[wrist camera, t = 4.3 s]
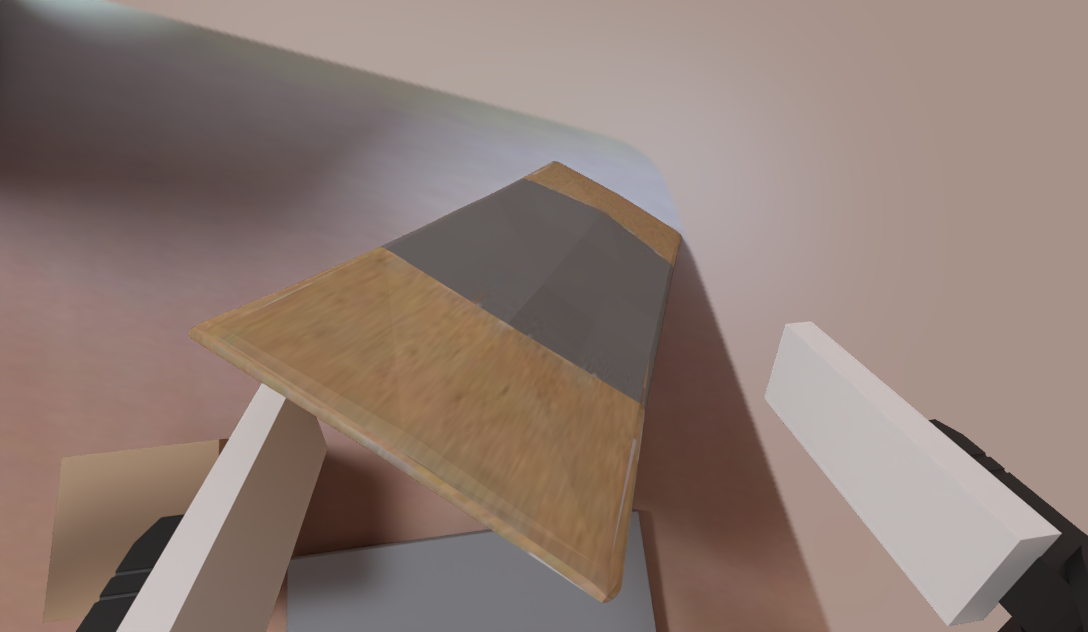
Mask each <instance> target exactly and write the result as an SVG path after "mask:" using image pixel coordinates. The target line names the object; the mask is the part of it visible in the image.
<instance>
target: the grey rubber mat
mask: <svg viewBox="0 0 1088 632" xmlns="http://www.w3.org/2000/svg"><path fill="white" fill-rule="evenodd" d="M287 632H656V627H655V620H654V614H653V607H652V600H651V594H650V587H649V581H648V574H647V567H646V561H645V554H644V547H643V541H642V534H641V527H640V521H639V514H638V511H637V510H635V509H632V513H631V520H630V528H629V535H628V543H627V550H626V558H625V565H624V573H623V580H622V587H621V590H620V591H619V593H618V595H617V596H616V597H615V598H614V599H613V600H611V601H609V602H607V603H601V602H600V601H598V600H597V599H595V598H594V597H592V596H591V595H589V594H588V593H586V592H585V591H583V590H582V589H580V588H579V587H577V586H576V585H574V584H573V583H571V582H570V581H568V580H567V579H565V578H564V577H562V576H561V575H559V574H558V573H556V572H555V571H553V570H552V569H550V568H549V567H547V566H546V565H544V564H543V563H541V562H540V561H538V560H537V559H535V558H534V557H532V556H531V555H529V554H528V553H526V552H525V551H523V550H522V549H520V548H518V547H517V546H515V545H514V544H512V543H511V542H509V541H508V540H506V539H505V538H503V537H502V536H500V535H499V534H497V533H496V532H494V531H493V530H491V529H489V530H482V531H475V532H468V533H461V534H453V535H446V536H439V537H432V538H425V539H418V540H411V541H403V542H396V543H389V544H382V545H375V546H368V547H361V548H353V549H346V550H339V551H332V552H325V553H318V554H311V555H304V556H296V557H293V558H291V559H290V562H289V565H288V569H287Z"/></svg>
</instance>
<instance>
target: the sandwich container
mask: <svg viewBox="0 0 1088 632" xmlns="http://www.w3.org/2000/svg"><path fill="white" fill-rule="evenodd" d="M680 241H681V235H680V233H678V232H677V231H676V230H674V229H673V228H671V227H669V226H668V225H666V224H665V223H663V222H661V221H660V220H658V219H657V218H655V217H653V216H652V215H650V214H649V213H647V212H646V211H644V210H642V209H641V208H639V207H638V206H636V205H634V204H633V203H631V202H630V201H628V200H626V199H625V198H623V197H622V196H620V195H618V194H617V193H615V192H613V191H611V190H609V189H607V188H605V187H604V186H602V185H600V184H598V183H596V182H594V181H593V180H591V179H589V178H587V177H585V176H583V175H581V174H580V173H578V172H576V171H574V170H572V169H570V168H568V167H567V166H565V165H563V164H561V163H559V162H556V161H553V162H551V163H550V164H548V165H546V166H544V167H542V168H540V169H539V170H537V171H535V172H533V173H531V174H529V175H528V176H526V177H524V178H522V179H520V180H518V181H516V182H514V183H512V184H510V185H508V186H506V187H504V188H502V189H500V190H498V191H497V192H495V193H493V194H491V195H489V196H487V197H484V198H482V199H480V200H478V201H476V202H473V203H471V204H469V205H467V206H464V207H462V208H460V209H458V210H456V211H454V212H452V213H450V214H448V215H446V216H444V217H442V218H440V219H438V220H436V221H434V222H432V223H430V224H428V225H426V226H424V227H422V228H420V229H417V230H415V231H413V232H411V233H409V234H407V235H404V236H402V237H400V238H398V239H396V240H394V241H392V242H389V243H387V244H385V245H383V246H381V247H379V248H376V249H374V250H372V251H369V252H367V253H365V254H362V255H360V256H358V257H356V258H353V259H351V260H349V261H347V262H344V263H342V264H340V265H337V266H335V267H333V268H331V269H328V270H326V271H324V272H322V273H319V274H317V275H315V276H312V277H310V278H308V279H306V280H303V281H301V282H299V283H297V284H294V285H292V286H290V287H287V288H285V289H283V290H280V291H278V292H275V293H273V294H271V295H268V296H266V297H263V298H261V299H258V300H256V301H253V302H251V303H249V304H246V305H244V306H241V307H239V308H236V309H234V310H231V311H229V312H226V313H224V314H222V315H219V316H217V317H214V318H212V319H209V320H207V321H204V322H202V323H200V324H198V325H196V326H194V327H192V328H191V330H190V332H189V334H188V336H189V337H190V338H191V339H193V340H194V341H196V342H198V343H199V344H201V345H202V346H204V347H206V348H207V349H209V350H210V351H212V352H214V353H215V354H217V355H218V356H220V357H222V358H223V359H225V360H226V361H228V362H229V363H231V364H233V365H234V366H236V367H237V368H239V369H241V370H242V371H244V372H245V373H247V374H249V375H250V376H252V377H253V378H255V379H257V380H258V381H260V382H261V383H263V384H265V385H266V386H268V387H269V388H271V389H273V390H274V391H276V392H277V393H279V394H281V395H282V396H284V397H285V398H287V399H289V400H290V401H292V402H293V403H295V404H297V405H298V406H300V407H301V408H303V409H305V410H306V411H308V412H309V413H311V414H313V415H314V416H316V417H317V418H319V419H321V420H322V421H324V422H325V423H327V424H329V425H330V426H332V427H333V428H335V429H337V430H338V431H340V432H341V433H343V434H345V435H346V436H348V437H349V438H351V439H353V440H354V441H356V442H357V443H359V444H361V445H362V446H364V447H365V448H367V449H369V450H370V451H372V452H373V453H375V454H377V455H378V456H380V457H381V458H383V459H385V460H386V461H388V462H389V463H391V464H392V465H394V466H395V467H397V468H398V469H400V470H401V471H403V472H404V473H406V474H407V475H409V476H410V477H412V478H413V479H415V480H416V481H418V482H419V483H421V484H423V485H424V486H426V487H427V488H429V489H430V490H432V491H433V492H435V493H436V494H438V495H439V496H441V497H442V498H444V499H445V500H447V501H448V502H450V503H451V504H453V505H455V506H456V507H458V508H459V509H461V510H462V511H464V512H465V513H467V514H468V515H470V516H471V517H473V518H474V519H476V520H477V521H479V522H480V523H482V524H483V525H485V526H487V527H488V528H490V529H491V530H493V531H494V532H496V533H497V534H499V535H500V536H502V537H503V538H505V539H506V540H508V541H509V542H511V543H512V544H514V545H515V546H517V547H518V548H520V549H522V550H523V551H525V552H526V553H528V554H529V555H531V556H532V557H534V558H535V559H537V560H538V561H540V562H541V563H543V564H544V565H546V566H547V567H549V568H550V569H552V570H553V571H555V572H556V573H558V574H559V575H561V576H562V577H564V578H565V579H567V580H568V581H570V582H571V583H573V584H574V585H576V586H577V587H579V588H580V589H582V590H583V591H585V592H586V593H588V594H589V595H591V596H592V597H594V598H595V599H597V600H598V601H600V602H601V603H607V602H609V601H611V600H613V599H614V598H615V597H616V596H617V595H618V593H619V591H620V590H621V587H622V580H623V573H624V565H625V558H626V550H627V543H628V535H629V528H630V520H631V513H632V506H633V498H634V491H635V483H636V476H637V468H638V461H639V454H640V446H641V439H642V431H643V424H644V416H645V410H646V404H647V399H648V394H649V389H650V383H651V378H652V373H653V368H654V363H655V358H656V353H657V348H658V344H659V339H660V334H661V329H662V324H663V319H664V314H665V309H666V304H667V299H668V294H669V289H670V284H671V279H672V274H673V269H674V265H675V261H676V257H677V253H678V249H679V245H680Z"/></svg>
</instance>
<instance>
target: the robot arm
mask: <svg viewBox="0 0 1088 632" xmlns="http://www.w3.org/2000/svg"><path fill="white" fill-rule="evenodd" d="M764 399H765V400H766V402H767V403H768V404H769V405H770V406H771V408H772V409H773V410H774V411H775V413H776V414H777V415H778V416H779V418H780V419H781V420H782V421H783V423H784V424H785V425H786V426H787V427H788V429H789V430H790V431H791V432H792V434H793V435H794V436H795V437H796V439H797V440H798V441H799V442H800V444H801V445H802V446H803V447H804V448H805V450H806V451H807V452H808V454H809V455H810V456H811V457H812V459H813V460H814V461H815V462H816V463H817V465H818V466H819V467H820V468H821V470H822V471H823V472H824V473H825V475H826V476H827V477H828V478H829V480H830V481H831V482H832V483H833V484H834V486H835V487H836V488H837V490H838V491H839V492H840V493H841V494H842V496H843V497H844V498H845V499H846V501H847V502H848V503H849V504H850V506H851V507H852V508H853V509H854V511H855V512H856V513H857V514H858V516H859V517H860V518H861V519H862V520H863V522H864V523H865V524H866V525H867V527H868V528H869V529H870V530H871V531H872V533H873V534H874V535H875V536H876V538H877V539H878V540H879V542H880V543H881V544H882V545H883V546H884V548H885V549H886V550H887V551H888V553H889V554H890V555H891V556H892V558H893V559H894V560H895V561H896V563H897V564H898V565H899V566H900V567H901V569H902V570H903V571H904V573H905V574H906V575H907V576H908V578H909V579H910V580H911V581H912V583H913V584H914V585H915V586H916V587H917V589H918V590H919V591H920V592H921V594H922V595H923V596H924V597H925V599H926V600H927V601H928V602H929V604H930V605H931V606H932V607H933V608H934V610H935V611H936V612H937V614H938V615H939V616H940V617H941V618H942V620H943V621H944V622H945V623H946V625H947V626H952V625H958V624H963V623H969V622H975V621H981V620H984V618H986V616H987V615H988V614H989V613H990V612H991V611H992V610H993V609H994V608H995V606H996V605H997V604H998V603H1000V604H1001V605H1002V606H1003V607H1004V608H1005V609H1006V610H1007V612H1008V613H1009V614H1010V615H1011V616H1012V617H1011V618H1010V619H1009V621H1007V622H1006V623H1005V625H1004V626H1003V627H1002V628H1001V629H1000V630H999V631H998V632H1088V536H1087V535H1086V534H1085V533H1083V532H1082V531H1081V530H1080V529H1078V528H1077V527H1076V526H1075V525H1073V524H1072V523H1071V522H1070V521H1068V520H1067V519H1066V518H1065V517H1063V516H1062V515H1061V514H1060V513H1059V512H1057V511H1056V510H1055V509H1054V508H1053V507H1051V506H1050V505H1049V504H1048V503H1046V502H1045V501H1044V500H1043V499H1041V498H1040V497H1039V496H1038V495H1037V494H1035V493H1034V492H1033V491H1032V490H1030V489H1029V488H1028V487H1027V486H1026V485H1024V484H1023V483H1022V482H1020V481H1019V480H1018V479H1017V478H1016V477H1014V476H1013V475H1012V474H1011V473H1006V472H1005V470H1004V468H1003V467H1002V466H1001V465H1000V464H998V463H997V462H996V461H995V460H994V459H992V458H991V457H987V456H986V455H985V452H984V451H983V450H981V449H980V448H979V447H978V446H976V445H975V444H974V443H973V442H971V441H970V440H969V439H968V438H967V437H965V436H964V435H963V434H961V433H959V432H957V431H956V430H954V429H952V428H950V427H948V426H946V425H944V424H943V423H941V422H939V421H937V420H935V419H934V420H927V419H926V418H925V417H924V416H922V415H921V414H920V413H919V412H917V411H916V410H915V409H914V408H913V407H912V406H911V405H909V404H908V403H907V402H906V401H904V400H903V399H902V398H901V397H900V396H899V395H898V394H896V393H895V392H894V391H893V390H892V389H890V388H889V387H888V386H887V385H886V384H884V383H883V382H882V381H881V380H880V379H879V378H877V377H876V376H875V375H874V374H873V373H871V372H870V371H869V370H868V369H867V368H866V367H864V366H863V365H862V364H861V363H860V362H858V361H857V360H856V359H855V358H853V357H852V356H851V355H850V354H849V353H848V352H847V351H845V350H844V349H843V348H842V347H841V346H839V345H838V344H837V343H836V342H835V341H833V340H832V339H831V338H830V337H829V336H827V334H825V333H824V332H823V331H822V330H820V329H819V328H818V327H817V326H816V325H815V324H813V323H812V322H811V321H810V322H800V323H790V324H786V325H785V329H784V332H783V335H782V339H781V342H780V345H779V349H778V352H777V356H776V359H775V362H774V366H773V369H772V372H771V376H770V380H769V383H768V386H767V389H766V393H765V396H764ZM327 449H328V447H327V445H326V442H325V439H324V436H323V434H322V431H321V428H320V426H319V423H318V420H317V418H316V416H314V415H313V414H311V413H309V412H308V411H306V410H305V409H303V408H301V407H300V406H298V405H297V404H295V403H293V402H292V401H290V400H289V399H287V398H285V397H284V396H282V395H281V394H279V393H277V392H276V391H274V390H273V389H271V388H269V387H268V386H266V385H265V384H263V383H262V384H261V386H260V387H259V389H258V391H257V392H256V394H255V396H254V398H253V399H252V401H251V403H250V404H249V406H248V408H247V410H246V411H245V413H244V415H243V416H242V418H241V420H240V421H239V423H238V425H237V427H236V428H235V430H234V432H233V433H232V435H231V437H230V439H229V440H228V442H227V444H226V445H225V447H224V449H223V450H222V452H221V454H220V456H219V457H218V459H217V461H216V462H215V464H214V466H213V468H212V469H211V471H210V473H209V474H208V476H207V478H206V479H205V481H204V483H203V485H202V486H201V488H200V490H199V491H198V493H197V495H196V496H195V498H194V500H193V502H192V503H191V505H190V507H189V508H188V510H187V512H186V514H182V515H174V516H166V517H161V518H160V519H159V520H158V521H157V522H156V523H154V524H153V525H152V526H151V527H150V528H149V529H148V530H147V531H146V532H145V533H144V534H143V535H142V536H141V537H140V538H139V539H138V540H136V541H135V542H134V544H133V545H132V547H131V548H130V550H129V551H128V553H127V554H126V556H125V557H124V559H123V560H122V562H121V563H120V565H119V566H118V568H117V570H116V571H115V576H114V577H111V579H110V580H109V582H108V583H107V585H106V586H105V588H104V589H103V591H102V592H101V594H100V596H99V597H100V599H99V601H98V602H95V603H94V605H93V606H92V608H91V609H90V611H89V612H88V614H87V615H86V617H85V618H84V620H83V622H82V623H81V625H80V626H79V628H78V629H77V631H76V632H266V630H267V627H268V624H269V621H270V618H271V615H272V612H273V609H274V606H275V603H276V600H277V597H278V594H279V591H280V588H281V585H282V583H283V580H284V577H285V574H286V571H287V568H288V565H289V562H290V559H291V556H292V553H293V550H294V547H295V544H296V541H297V538H298V535H299V532H300V529H301V526H302V523H303V520H304V517H305V514H306V511H307V508H308V505H309V502H310V499H311V496H312V493H313V491H314V488H315V485H316V482H317V479H318V476H319V473H320V470H321V467H322V464H323V461H324V458H325V455H326V452H327Z"/></svg>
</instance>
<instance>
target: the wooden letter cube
mask: <svg viewBox="0 0 1088 632" xmlns="http://www.w3.org/2000/svg"><path fill="white" fill-rule="evenodd" d="M228 440H229V439H217V440H209V441H200V442H191V443H183V444H174V445H166V446H157V447H149V448H140V449H131V450H123V451H114V452H106V453H97V454H89V455H80V456H71V457H63V458H62V460H61V469H60V478H59V486H58V495H57V504H56V513H55V521H54V530H53V539H52V548H51V556H50V565H49V574H48V582H47V591H46V600H45V609H44V617H43V623H45V622H51V621H58V620H65V619H71V618H78V617H85V616H86V615H87V614H88V612H89V611H90V609H91V608H92V606H93V605H94V603H95V602H98V601H99V599H100V597H99V596H100V594H101V592H102V591H103V589H104V588H105V586H106V585H107V583H108V582H109V580H110V579H111V577H114V576H115V571H116V570H117V568H118V566H119V565H120V563H121V562H122V560H123V559H124V557H125V556H126V554H127V553H128V551H129V550H130V548H131V547H132V545H133V544H134V542H135V541H136V540H138V539H139V538H140V537H141V536H142V535H143V534H144V533H145V532H146V531H147V530H148V529H149V528H150V527H151V526H152V525H153V524H154V523H156V522H157V521H158V520H159V519H160V518H161V517H166V516H174V515H182V514H186V512H187V510H188V508H189V507H190V505H191V503H192V502H193V500H194V498H195V496H196V495H197V493H198V491H199V490H200V488H201V486H202V485H203V483H204V481H205V479H206V478H207V476H208V474H209V473H210V471H211V469H212V468H213V466H214V464H215V462H216V461H217V459H218V457H219V456H220V454H221V452H222V450H223V449H224V447H225V445H226V444H227V442H228Z"/></svg>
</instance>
